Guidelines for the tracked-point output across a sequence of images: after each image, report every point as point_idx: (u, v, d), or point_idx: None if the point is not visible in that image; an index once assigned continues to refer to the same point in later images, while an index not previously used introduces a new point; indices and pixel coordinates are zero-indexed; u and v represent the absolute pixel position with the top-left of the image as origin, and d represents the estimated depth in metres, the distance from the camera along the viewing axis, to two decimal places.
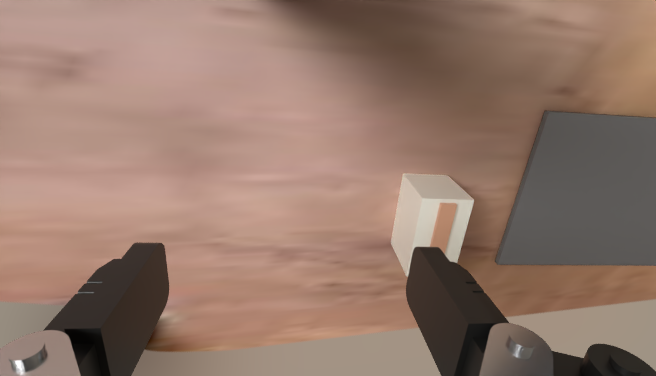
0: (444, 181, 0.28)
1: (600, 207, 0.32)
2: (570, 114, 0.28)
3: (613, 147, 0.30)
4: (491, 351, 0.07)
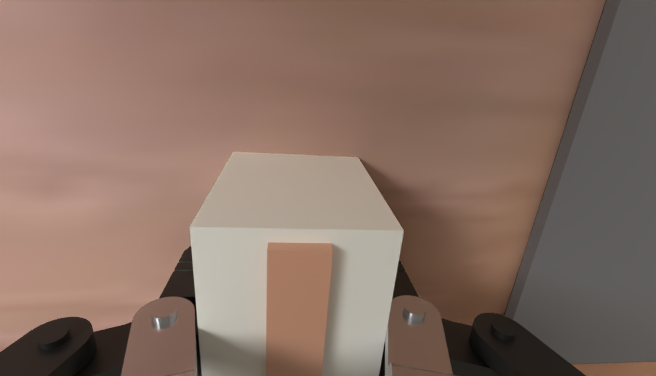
0: (335, 172, 0.10)
1: None
2: None
3: None
4: None
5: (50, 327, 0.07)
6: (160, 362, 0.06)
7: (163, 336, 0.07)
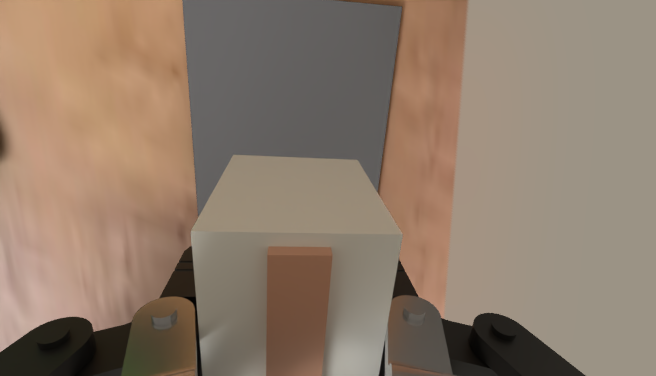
0: (335, 175, 0.10)
1: None
2: None
3: None
4: None
5: (52, 327, 0.07)
6: (160, 362, 0.06)
7: (163, 337, 0.07)
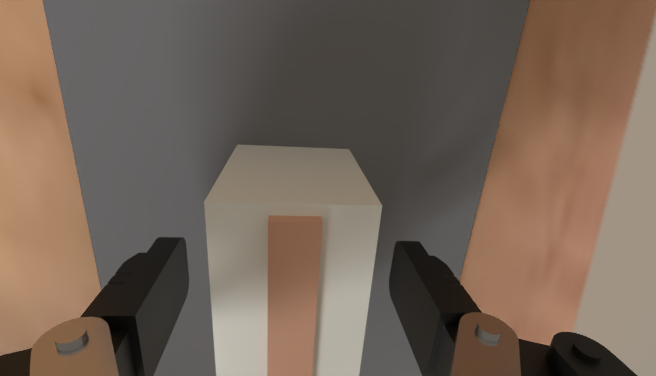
0: (328, 161, 0.11)
1: None
2: None
3: None
4: (459, 338, 0.07)
5: None
6: None
7: (75, 361, 0.06)
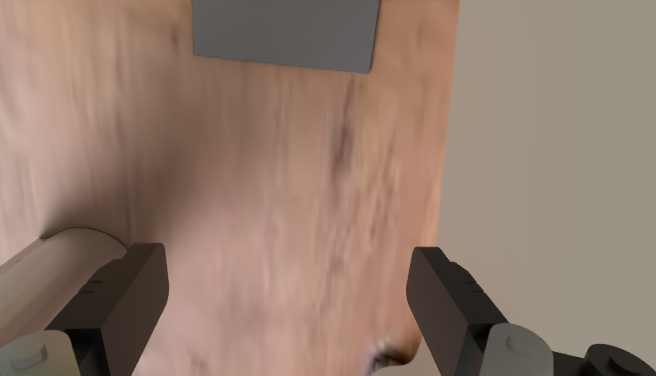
0: None
1: None
2: (193, 30, 0.28)
3: None
4: (491, 351, 0.07)
5: None
6: None
7: None
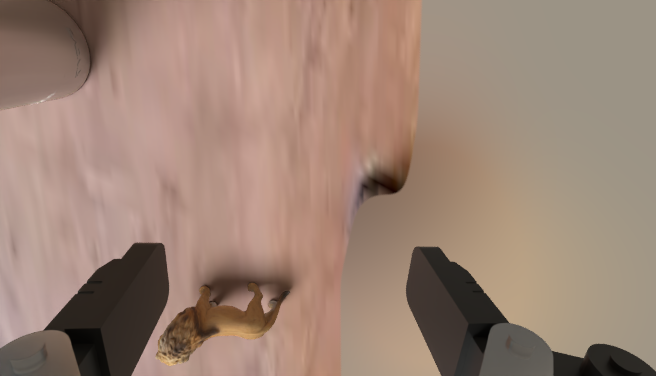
0: None
1: None
2: None
3: None
4: (491, 351, 0.07)
5: None
6: None
7: None
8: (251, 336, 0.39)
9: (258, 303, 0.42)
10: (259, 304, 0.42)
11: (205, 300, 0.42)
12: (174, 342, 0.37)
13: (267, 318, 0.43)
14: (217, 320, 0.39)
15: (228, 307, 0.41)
